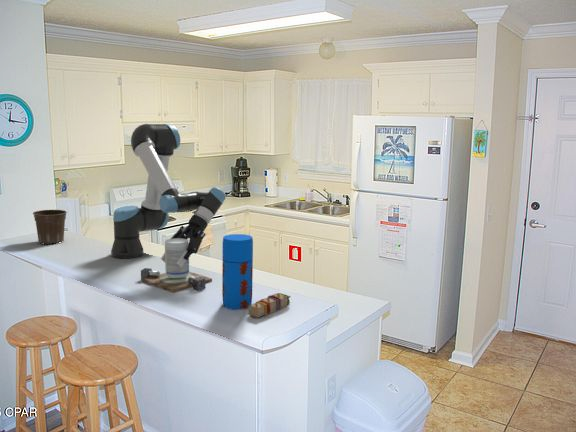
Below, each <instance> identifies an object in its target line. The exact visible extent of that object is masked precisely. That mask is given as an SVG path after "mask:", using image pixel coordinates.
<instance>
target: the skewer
mask: <svg viewBox="0 0 576 432" xmlns="http://www.w3.org/2000/svg"><path fill="white" fill-rule="evenodd" d="M290 298H291V295H288V294H286V293H285V294H284V293H281V292H277V293H274V294H270V295H268V296H267V297H265V298H261V299H259V300H258V301H255V303H252V305H249V307H248V308H247V309H248V310H247V313H248V315H249V317H254V318H260V317H262V316H267V315H270V314H273V313H275V312H276V311H280V310H282V309H284V308H286V307H288V306H289V305H290V303H291V302H290ZM274 311H275V312H274Z"/></svg>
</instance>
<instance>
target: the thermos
mask: <svg viewBox="0 0 576 432" xmlns="http://www.w3.org/2000/svg"><path fill="white" fill-rule="evenodd" d="M253 263H254V239H253V236H252V235H249V234H242V233H240V234H239V233H237V234H235V233H233V234H225V236H224V235H223V237H222V270H221V271H222V272H221V273H222V275H221V277H222V280H221V281H222V289H221V290H222V293H221V294H222V306H223V307H224V308H227V309H230V310H244V309H248V307H249V305H252V304H253V273H254V272H253V270H254V269H253V268H254V266H253V265H254V264H253Z"/></svg>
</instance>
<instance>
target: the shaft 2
mask: <svg viewBox="0 0 576 432" xmlns="http://www.w3.org/2000/svg"><path fill="white" fill-rule="evenodd" d="M188 283H191V284H193V287H192V290H194V291H201V290H204V289H206V283H205V278H202V277H199V278H192V277H189V278H188Z"/></svg>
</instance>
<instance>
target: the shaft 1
mask: <svg viewBox="0 0 576 432" xmlns="http://www.w3.org/2000/svg"><path fill="white" fill-rule="evenodd" d="M152 269H153V268H148V267H147V268H143V269H141V270H140V280H141V281H142V279H143V278H148V277H159V276H160V274H161V272H160V271H159V270H158V271H157V270H152Z"/></svg>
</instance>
